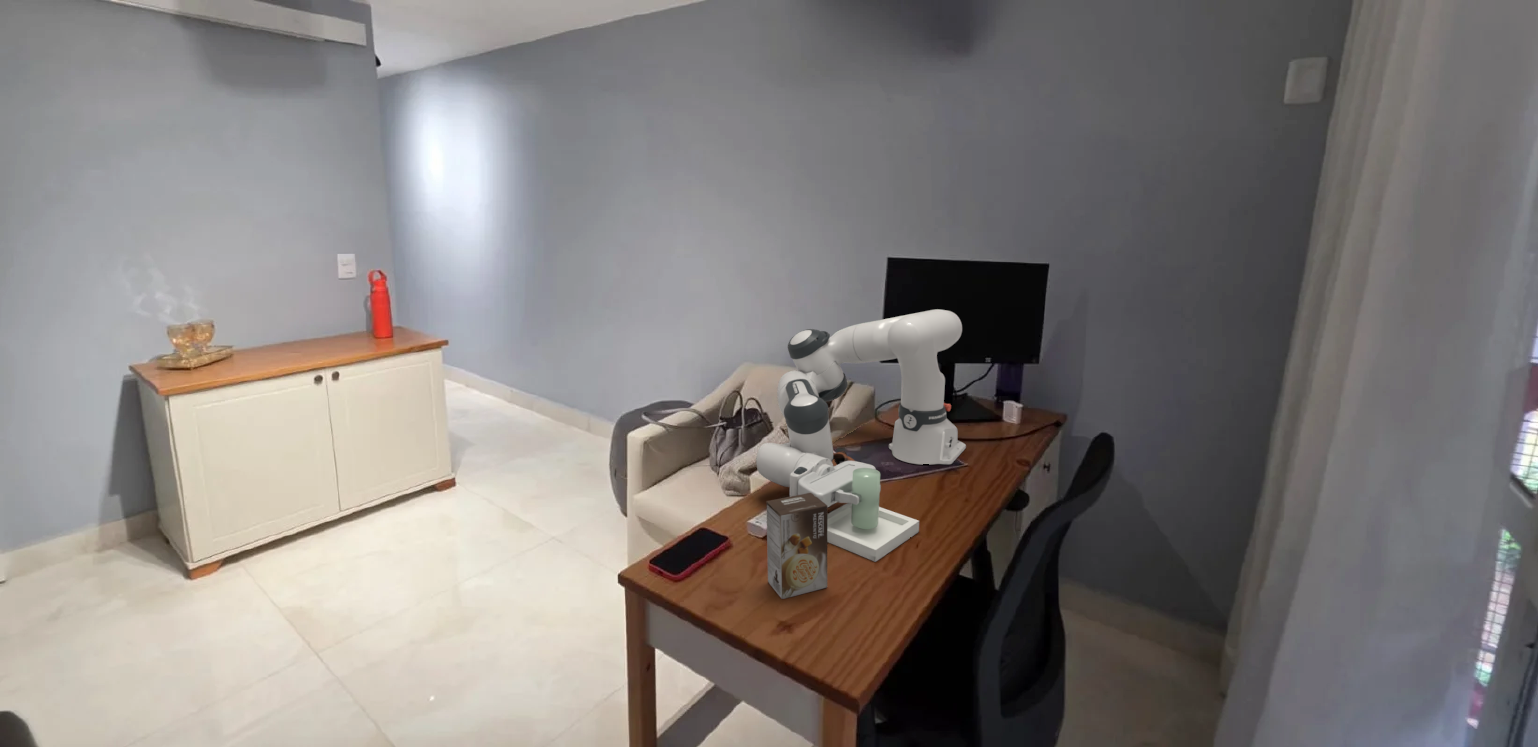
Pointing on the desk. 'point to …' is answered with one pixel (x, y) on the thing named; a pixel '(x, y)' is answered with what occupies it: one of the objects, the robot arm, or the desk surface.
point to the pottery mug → (841, 457)
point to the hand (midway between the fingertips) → (869, 494)
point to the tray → (869, 532)
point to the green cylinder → (866, 498)
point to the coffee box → (797, 544)
